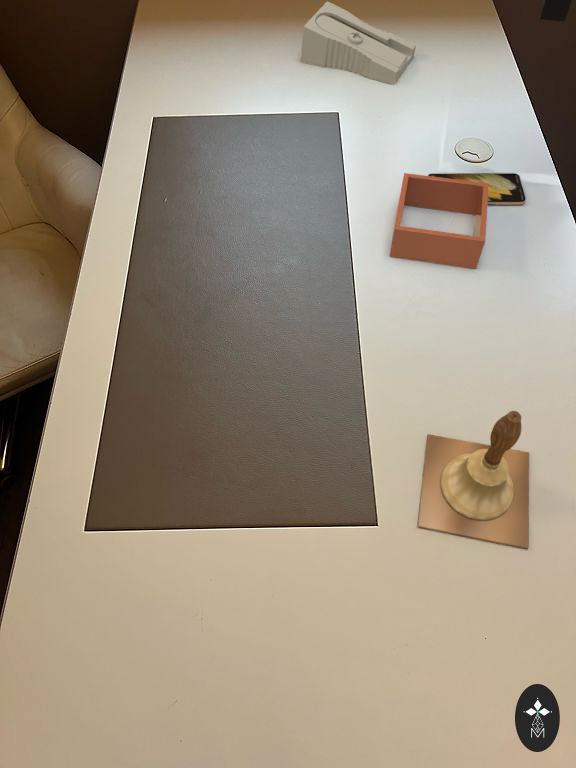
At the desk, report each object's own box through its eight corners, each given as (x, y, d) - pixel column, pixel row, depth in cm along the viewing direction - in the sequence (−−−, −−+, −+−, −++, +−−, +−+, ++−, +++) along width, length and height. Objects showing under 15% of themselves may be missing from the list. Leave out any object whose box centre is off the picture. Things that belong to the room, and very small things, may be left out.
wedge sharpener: (323, 36, 130) (324, 0, 124) (414, 57, 125) (419, 21, 119) (300, 61, 125) (300, 25, 119) (394, 85, 119) (399, 48, 114)
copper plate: (528, 453, 75) (529, 452, 74) (527, 549, 68) (528, 548, 68) (427, 435, 76) (427, 433, 76) (417, 527, 70) (417, 526, 69)
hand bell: (497, 534, 69) (545, 469, 55) (428, 497, 71) (458, 427, 58) (523, 475, 73) (574, 401, 59) (457, 443, 75) (491, 365, 62)
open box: (480, 212, 99) (488, 183, 94) (476, 269, 92) (485, 241, 87) (399, 201, 100) (404, 172, 96) (389, 256, 93) (394, 228, 89)
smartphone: (427, 173, 103) (518, 172, 103) (426, 176, 104) (517, 176, 103) (431, 201, 99) (526, 201, 99) (430, 205, 100) (525, 205, 99)
